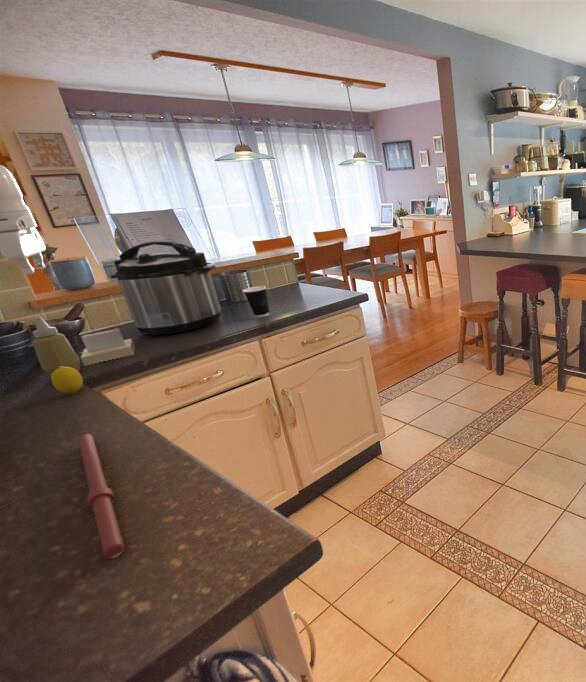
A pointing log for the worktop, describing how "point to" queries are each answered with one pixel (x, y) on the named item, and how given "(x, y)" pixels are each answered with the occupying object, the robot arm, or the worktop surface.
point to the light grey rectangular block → (103, 340)
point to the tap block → (108, 353)
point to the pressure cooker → (168, 289)
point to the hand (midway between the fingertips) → (36, 271)
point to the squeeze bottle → (53, 348)
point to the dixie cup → (258, 300)
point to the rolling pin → (100, 499)
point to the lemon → (66, 379)
